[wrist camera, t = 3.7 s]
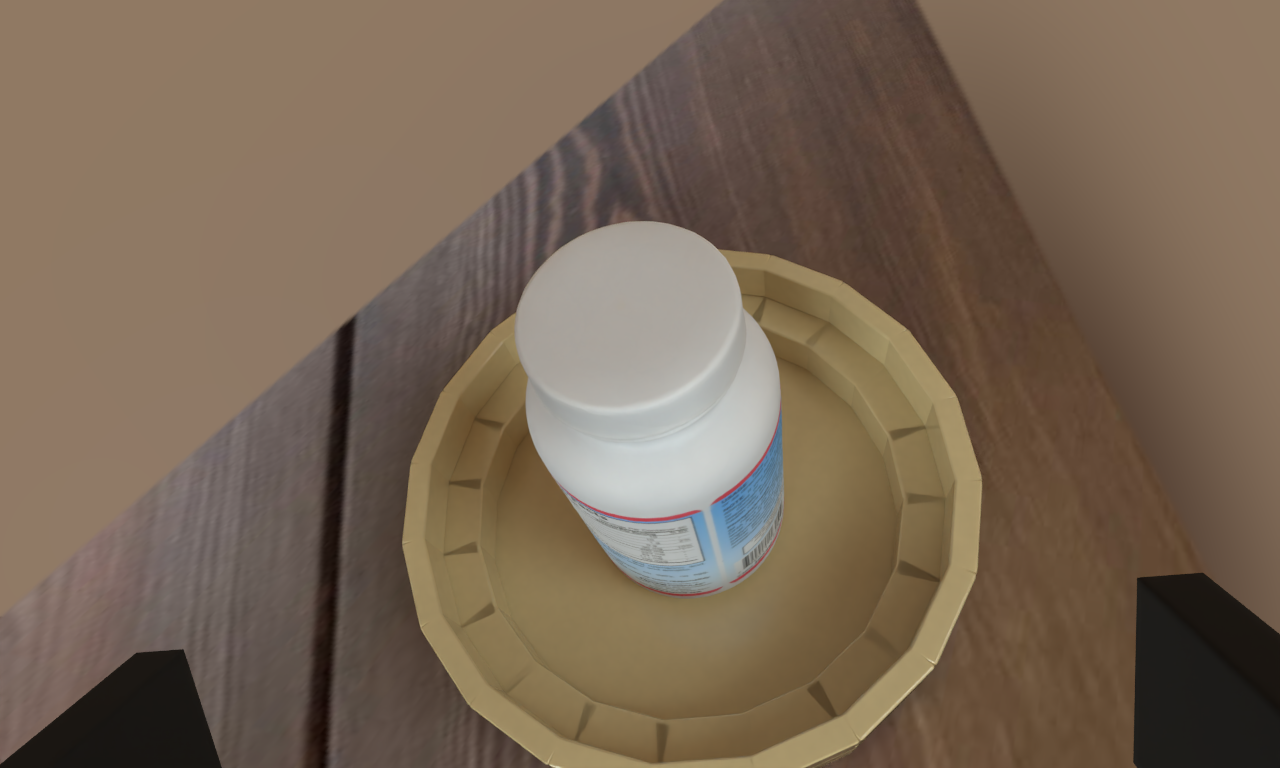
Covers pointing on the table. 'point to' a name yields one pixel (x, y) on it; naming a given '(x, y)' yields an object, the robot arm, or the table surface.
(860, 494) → the beige shallow round dish
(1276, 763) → the robot arm
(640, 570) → the pill bottle
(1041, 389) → the table surface
